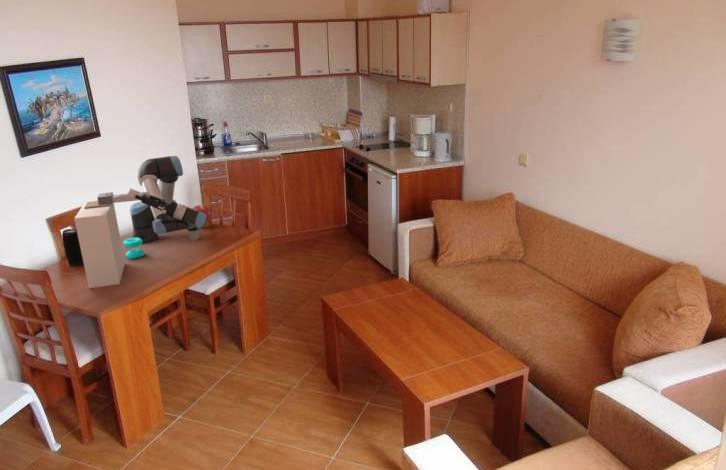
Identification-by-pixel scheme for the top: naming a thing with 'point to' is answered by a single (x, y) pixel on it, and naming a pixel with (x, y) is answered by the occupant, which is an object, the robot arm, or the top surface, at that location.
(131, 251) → the donuts
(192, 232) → the house plant
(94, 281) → the tall cream pillar block
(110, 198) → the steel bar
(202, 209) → the decorative mushroom
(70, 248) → the portable speaker
